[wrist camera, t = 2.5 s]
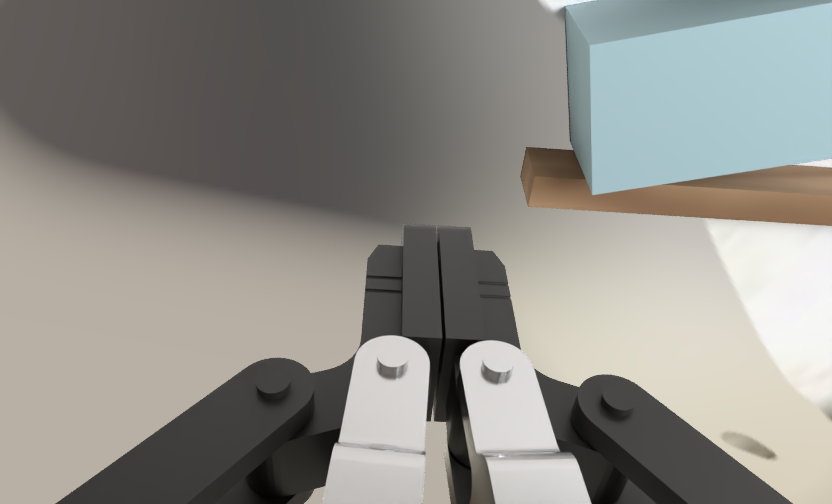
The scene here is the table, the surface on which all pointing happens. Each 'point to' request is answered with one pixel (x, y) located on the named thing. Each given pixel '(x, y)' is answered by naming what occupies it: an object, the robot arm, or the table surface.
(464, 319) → the robot arm
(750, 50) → the block
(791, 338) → the table surface
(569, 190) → the maze
